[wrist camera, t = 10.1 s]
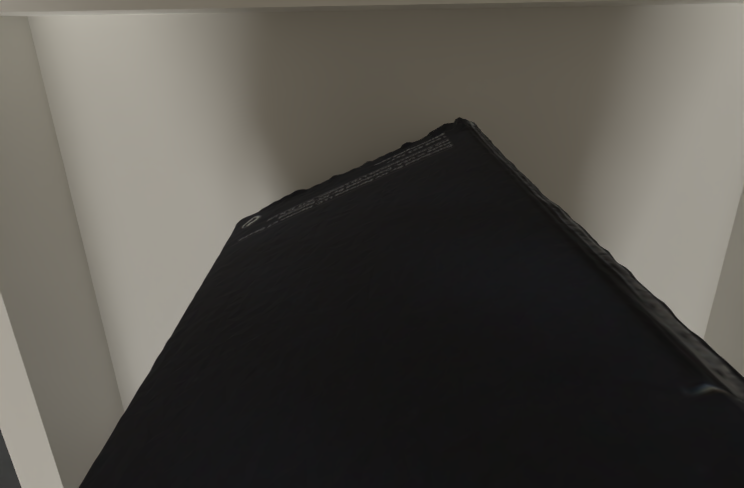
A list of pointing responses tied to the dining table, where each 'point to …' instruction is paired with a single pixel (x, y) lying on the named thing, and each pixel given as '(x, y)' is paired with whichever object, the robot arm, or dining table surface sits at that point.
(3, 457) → the dining table surface
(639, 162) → the tray
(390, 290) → the small box
